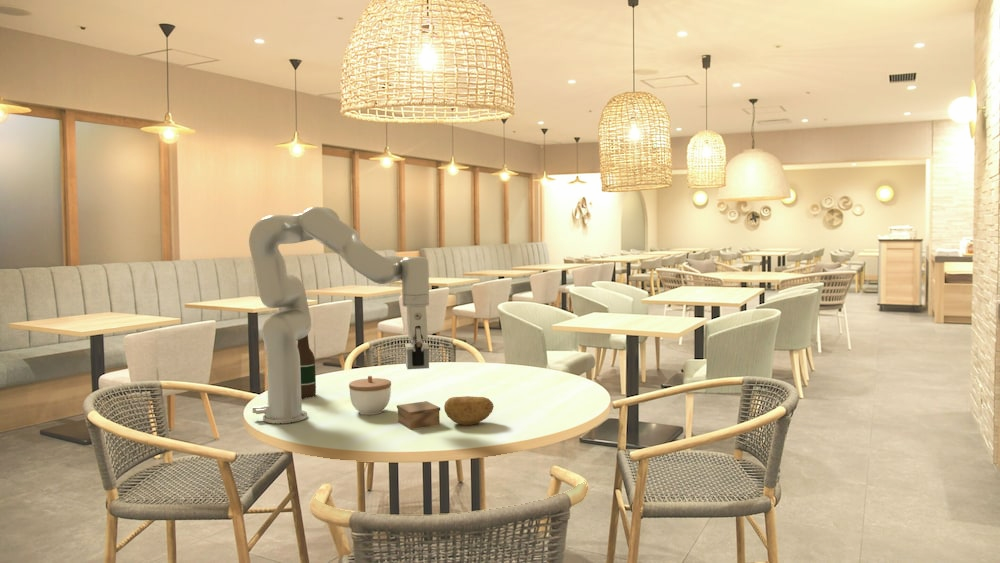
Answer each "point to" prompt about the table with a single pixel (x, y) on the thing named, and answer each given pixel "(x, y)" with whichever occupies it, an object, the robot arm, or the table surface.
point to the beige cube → (409, 356)
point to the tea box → (418, 415)
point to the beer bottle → (307, 369)
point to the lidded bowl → (370, 395)
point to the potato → (468, 409)
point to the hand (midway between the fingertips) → (417, 362)
